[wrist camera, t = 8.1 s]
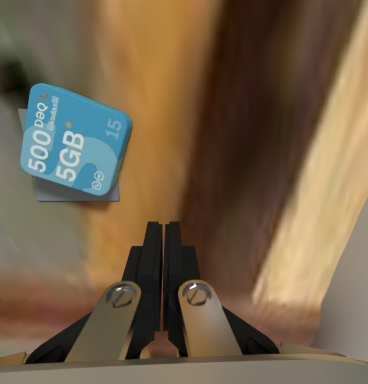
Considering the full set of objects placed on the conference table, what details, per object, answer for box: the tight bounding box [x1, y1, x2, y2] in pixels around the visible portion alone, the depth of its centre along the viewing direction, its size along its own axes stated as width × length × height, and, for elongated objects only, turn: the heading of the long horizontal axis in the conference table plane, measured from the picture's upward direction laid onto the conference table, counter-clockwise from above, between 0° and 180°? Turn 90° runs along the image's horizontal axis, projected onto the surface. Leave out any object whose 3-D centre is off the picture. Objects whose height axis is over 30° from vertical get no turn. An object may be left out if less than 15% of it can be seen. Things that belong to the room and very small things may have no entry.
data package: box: [20, 83, 132, 196], centre depth 30 cm, size 12×4×12 cm
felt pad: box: [18, 109, 119, 201], centre depth 33 cm, size 13×14×1 cm
